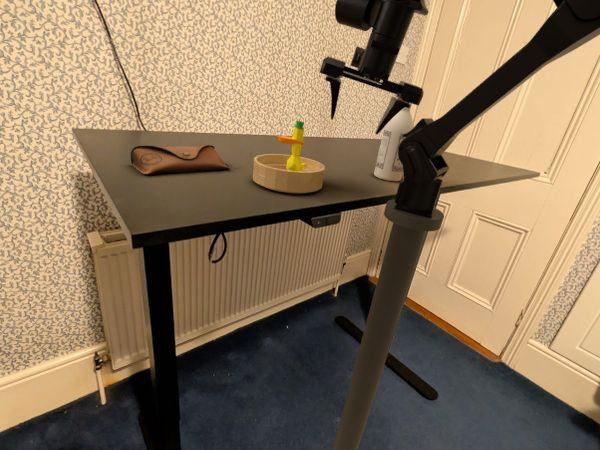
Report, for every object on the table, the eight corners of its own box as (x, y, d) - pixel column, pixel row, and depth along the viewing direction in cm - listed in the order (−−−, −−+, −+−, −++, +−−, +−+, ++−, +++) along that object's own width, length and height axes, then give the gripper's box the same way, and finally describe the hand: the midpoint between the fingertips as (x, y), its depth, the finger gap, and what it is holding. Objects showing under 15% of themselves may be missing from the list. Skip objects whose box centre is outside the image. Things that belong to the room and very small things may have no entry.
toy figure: (270, 180, 65) (276, 118, 60) (275, 176, 68) (281, 117, 63) (302, 186, 64) (311, 123, 59) (306, 182, 67) (314, 122, 62)
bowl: (331, 185, 70) (335, 164, 68) (302, 201, 58) (306, 177, 56) (275, 170, 75) (277, 151, 73) (237, 182, 63) (239, 159, 61)
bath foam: (403, 178, 84) (424, 96, 76) (398, 183, 78) (421, 95, 70) (377, 172, 87) (395, 92, 79) (370, 177, 81) (389, 91, 73)
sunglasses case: (145, 174, 58) (136, 138, 58) (135, 183, 64) (127, 150, 64) (232, 168, 70) (225, 138, 70) (218, 176, 75) (211, 148, 75)
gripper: (426, 54, 63) (393, 132, 71) (336, 23, 62) (312, 105, 70) (442, 55, 53) (401, 145, 61) (334, 19, 53) (307, 114, 60)
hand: (354, 126), depth 63 cm, fingers open, 9 cm apart
